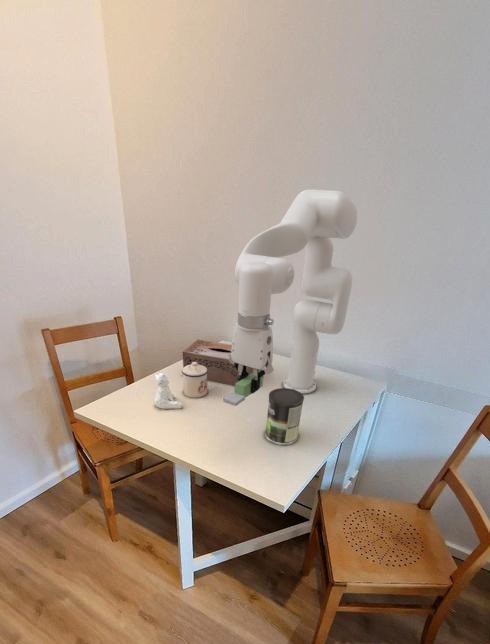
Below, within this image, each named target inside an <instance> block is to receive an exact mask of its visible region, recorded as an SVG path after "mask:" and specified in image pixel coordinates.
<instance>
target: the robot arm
mask: <svg viewBox="0 0 490 644" xmlns="http://www.w3.org/2000/svg"><path fill="white" fill-rule="evenodd" d="M357 222H358V210H357V206H356V204H355V203H354V201H352V199H351V197H349V196H348V194H346V193H345V192H343V191H341V190H331V189H329V190H328V189H315V188H314V189H305V190H302V191H301V192H299V193H298V194H297V195H296V197H295V198H294V199H293V201H292V203H291V204H290V206H289V208H288V209H287V211H286V213H285V214H284V216H283V218H282V219H281V221H280V222H279V223H278V224H275V225H273V226H271V227H269V228H267V229H266V230H264V231H262V232H260V233H258V234H256V235H255V236H254V237H252V238H251V239H249V241H248V242H247V244H246V245H245V246H244V248H243V250H242V251H241V252H240V255H238V258H237V261H236V263H235V267H234V278H235V281H236V284H238V304H237V305H238V306H237V307H238V308H237V309H238V310H237V322H236V323H235V325H234V330H233V334H232V339H231V341H232V342H231V345H232V351H231V356H230V358H229V362H231V363H232V364H233V365H234V366H235V368H236V369H237V371H238V375H240V376H239V381H240V380H242V379H244V378H245V377H247V376H248V372H247V366H248V367H252V368H253V379H252V380H251V393H252V394H255V393H256V392H257V391H259V390H260V388H261V387H260V377H262V376H263V377H264V376H266V375H269V374H272V373H274V371H275V369H274V367H273V364H272V363H273V359H274V337H273V336H274V335H273V328H272V326H273V325H274V322H275V321H274V319H272V318H271V313H270V312H271V301H272V295H277V294H283V293H285V292H286V291H288V290H289V288H290V287H291V286H292V284H293V282H294V280H295V268H294V265H293V263H292V262H291V261H289V260H288V259H285V258H283V257H287V256H291V255H295V254H297V253H299V252H301V251H303V250H304V249H305V252H304V262H303V271H302V277H301V291H302V293H303V294H304V295H305V296H308V297H311V298H317V299H323V300H329V301H331V302H324V301H320V300H315V299H314V300H313V299H303V300H300V301H299V302H297V303H296V304H295V306H294V308H293V315H292V316H293V318H292V319H293V335H292V344H291V345H292V346H291V352H290V360H289V369H288V376H287V378H285V379H284V380H283V383H282V384H283V388H289V389H294V390H296V391H299V392H300V393H302V394H303V395H304V394H311V393H313V392H315V391H316V389H317V383H316V381H314V377H315V374H316V366H317V359H318V353H319V349H320V340H319V339H320V338H319V336H318V334H317V333H320V334H321V333H323V334H327V335H338V334H339V333H341V331H342V330H343V328H344V325H345V321H346V316H347V311H348V307H349V302H350V296H351V291H352V284H353V275H352V273H351V271H350V270H349V269H347V268H345V267H337V266H333V265H332V260H333V255H334V244H333V242H332V239H339V240H345V239H348V238H350V237H351V235H353V233H354V231H355V228H356V226H357Z"/></svg>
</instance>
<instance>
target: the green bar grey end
mask: <svg viewBox="0 0 490 644" xmlns="http://www.w3.org/2000/svg"><path fill="white" fill-rule="evenodd" d="M252 379H253V373H251V374H250V375H248V376H247V377H245V378H244V379H242V380H240V381H239V382H237V383H235V385H234V392H231V393H230V394H228V395H227V396H225V397H223V403H224V404H228V405H231V406H234V407H237V406H238V405H240V404H242V402H244V401H245V400H246V398H247V397H249V396H250V395H252V394H253V393H251V380H252ZM263 382H264V375H263V376H262V377H260V388H262V387H263V385H264V383H263Z"/></svg>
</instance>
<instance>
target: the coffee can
mask: <svg viewBox="0 0 490 644" xmlns="http://www.w3.org/2000/svg"><path fill="white" fill-rule="evenodd" d="M304 401H305V396H304V394H302V393H300V392H299V391H296V390H294V389H289V388H285V387H279V388H275V389H273V390H271V391H269V393H268V404H267V415H266V426H265V434H264V435H265V438H266V440H268V441H269V442H270V443H272V444H276V445H279V446H287V445H291V444H295V442H297V440H298V434H299V429H300V424H301V423H300V422H301V416H302V409H303V405H304Z"/></svg>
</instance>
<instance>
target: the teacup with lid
mask: <svg viewBox="0 0 490 644" xmlns="http://www.w3.org/2000/svg"><path fill="white" fill-rule="evenodd" d="M207 372H208V371H207V368H206V367H205V366H202V365H199V364H197V362H192V364H191V365H187V366H185V367H184V368H182V370H181V373H182V382H183V383H182V384H183V394H184V396H186V397H189V398H201V397H204V396H206V395H207V394H208V380H207Z"/></svg>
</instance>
